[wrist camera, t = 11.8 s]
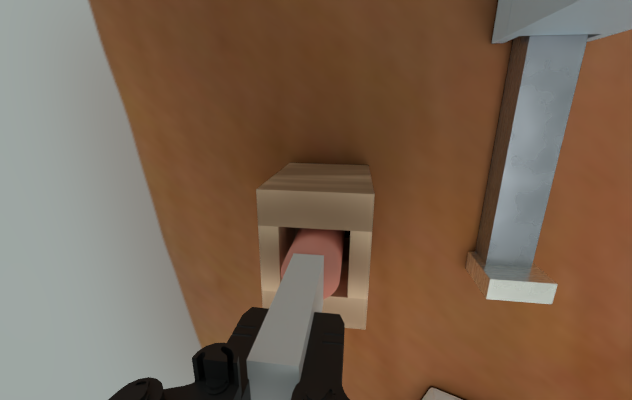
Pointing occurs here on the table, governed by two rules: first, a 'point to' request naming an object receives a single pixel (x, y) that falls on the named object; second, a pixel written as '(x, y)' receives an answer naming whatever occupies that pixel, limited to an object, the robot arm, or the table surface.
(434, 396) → the container
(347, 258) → the wooden box
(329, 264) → the plunger
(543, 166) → the rail
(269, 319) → the robot arm
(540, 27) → the carriage
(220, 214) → the table surface
